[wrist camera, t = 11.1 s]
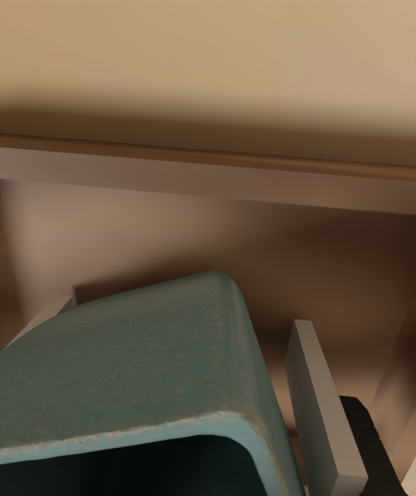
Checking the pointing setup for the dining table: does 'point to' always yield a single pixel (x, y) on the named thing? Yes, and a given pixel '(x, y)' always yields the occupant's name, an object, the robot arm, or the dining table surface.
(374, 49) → the dining table surface
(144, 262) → the holder tray
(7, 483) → the flower pot
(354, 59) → the dining table surface
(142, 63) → the dining table surface
